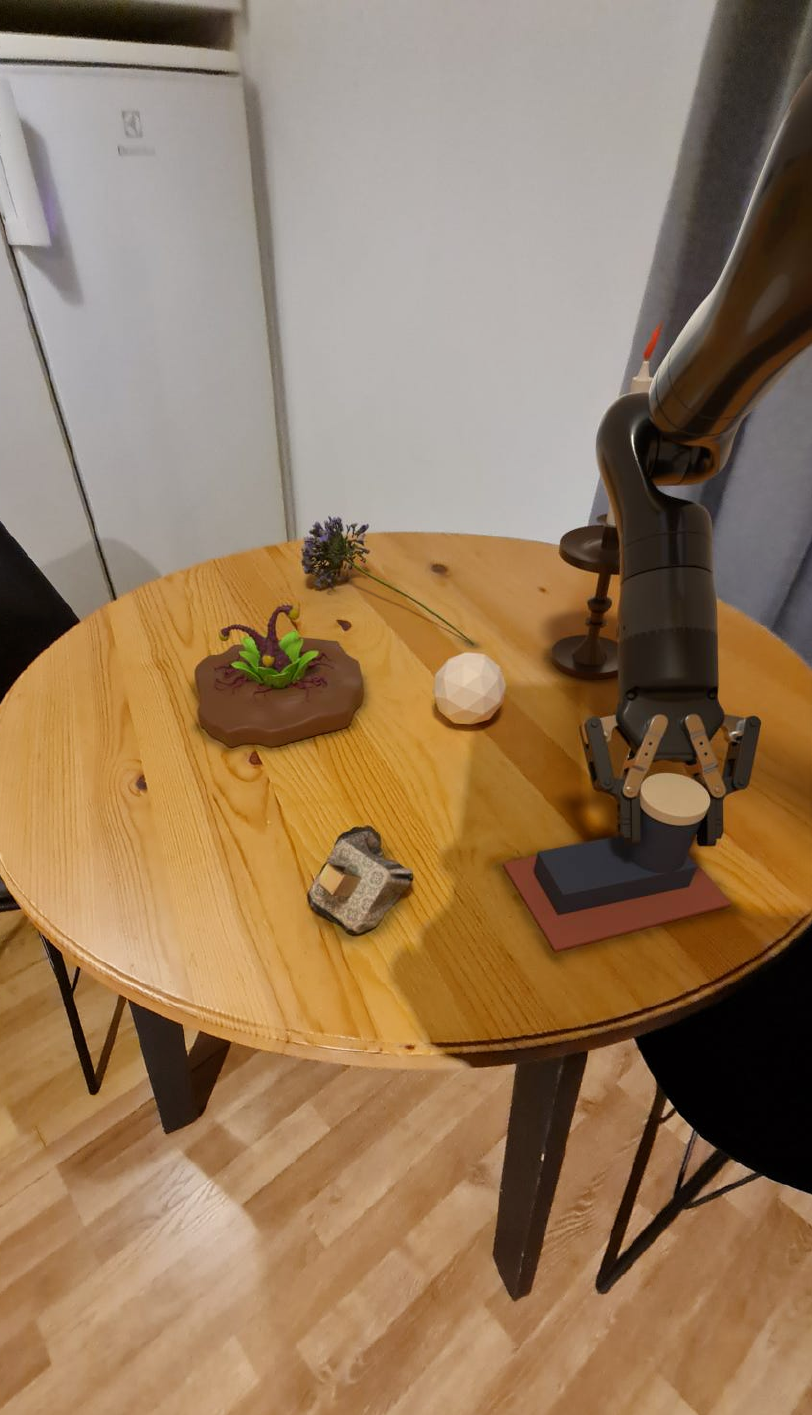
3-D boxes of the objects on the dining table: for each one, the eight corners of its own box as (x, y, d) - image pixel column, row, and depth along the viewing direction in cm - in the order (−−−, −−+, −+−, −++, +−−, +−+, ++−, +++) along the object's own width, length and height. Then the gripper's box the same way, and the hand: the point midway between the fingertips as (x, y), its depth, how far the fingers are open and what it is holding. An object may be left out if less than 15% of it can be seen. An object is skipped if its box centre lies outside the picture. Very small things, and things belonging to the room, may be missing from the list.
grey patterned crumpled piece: (439, 828, 66) (378, 879, 56) (431, 897, 68) (371, 957, 58) (357, 807, 69) (286, 851, 59) (352, 874, 72) (283, 927, 62)
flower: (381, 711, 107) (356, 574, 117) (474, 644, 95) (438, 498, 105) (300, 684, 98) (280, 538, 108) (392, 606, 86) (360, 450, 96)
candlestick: (626, 637, 95) (701, 309, 71) (642, 684, 87) (732, 332, 63) (539, 637, 96) (584, 313, 72) (547, 683, 88) (601, 336, 64)
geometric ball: (480, 744, 84) (504, 721, 77) (415, 717, 84) (433, 691, 76) (500, 686, 86) (526, 658, 78) (436, 659, 86) (456, 628, 78)
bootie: (658, 845, 67) (686, 768, 61) (691, 887, 63) (724, 809, 57) (532, 870, 65) (548, 793, 59) (558, 915, 62) (578, 838, 55)
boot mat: (662, 827, 69) (663, 824, 69) (730, 906, 62) (732, 902, 62) (503, 866, 67) (503, 863, 66) (554, 952, 60) (555, 949, 59)
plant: (379, 732, 82) (377, 641, 75) (201, 758, 80) (181, 668, 73) (347, 643, 97) (342, 560, 89) (196, 664, 95) (178, 580, 87)
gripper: (588, 624, 57) (590, 845, 57) (781, 621, 57) (786, 846, 56) (566, 650, 65) (568, 846, 64) (736, 648, 64) (740, 846, 63)
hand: (669, 845), depth 60 cm, fingers closed on bootie, 5 cm apart
